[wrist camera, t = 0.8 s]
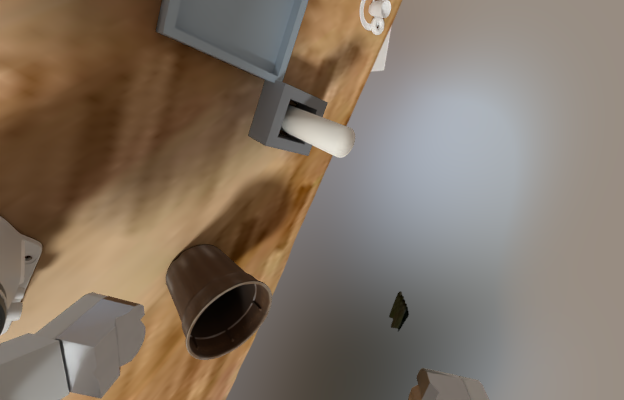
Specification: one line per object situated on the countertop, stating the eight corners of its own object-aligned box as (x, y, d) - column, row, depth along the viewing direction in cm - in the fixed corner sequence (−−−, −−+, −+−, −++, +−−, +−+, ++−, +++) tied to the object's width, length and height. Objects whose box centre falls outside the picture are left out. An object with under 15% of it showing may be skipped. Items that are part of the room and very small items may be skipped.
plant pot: (232, 224, 63) (275, 268, 53) (232, 281, 70) (270, 328, 60) (148, 250, 53) (181, 310, 43) (160, 313, 60) (190, 376, 50)
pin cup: (290, 146, 64) (308, 155, 60) (248, 135, 56) (265, 145, 52) (307, 96, 61) (327, 102, 57) (265, 77, 53) (285, 83, 49)
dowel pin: (284, 130, 61) (347, 159, 50) (265, 124, 57) (328, 155, 46) (292, 106, 60) (359, 131, 48) (273, 98, 56) (340, 124, 45)
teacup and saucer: (378, 34, 67) (393, 36, 65) (355, 34, 63) (370, 35, 60) (385, -13, 63) (401, -13, 60) (360, -17, 58) (377, -18, 56)
